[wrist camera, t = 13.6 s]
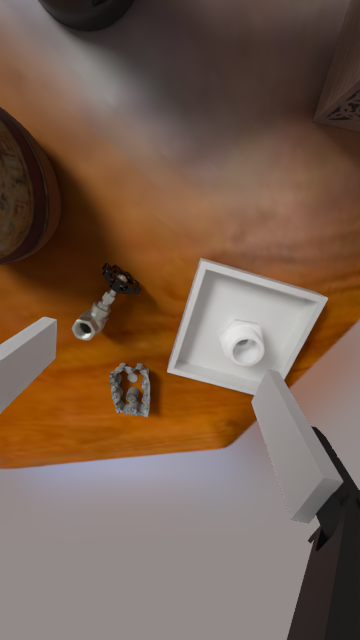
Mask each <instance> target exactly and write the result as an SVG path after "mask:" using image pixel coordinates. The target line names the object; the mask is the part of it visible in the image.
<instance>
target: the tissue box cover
mask: <svg viewBox="0 0 360 640" xmlns="http://www.w3.org/2000/svg"><path fill="white" fill-rule="evenodd" d="M312 122H315V123H319V124H324V125H329V126H334V127H338V128H343V129H348V130H352V131H357V132H360V0H351V1H350V4H349V7H348V10H347V13H346V16H345V20H344V23H343V26H342V29H341V32H340V35H339V38H338V42H337V45H336V48H335V51H334V54H333V57H332V61H331V64H330V67H329V70H328V73H327V76H326V80H325V83H324V86H323V89H322V92H321V95H320V99H319V102H318V105H317V108H316V111H315V114H314V118H313V121H312Z"/></svg>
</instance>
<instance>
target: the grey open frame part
mask: <svg viewBox="0 0 360 640" xmlns="http://www.w3.org/2000/svg"><path fill="white" fill-rule="evenodd" d="M136 369H138V370H140V371H139V372H140V373H141V374H142V375H144V378H143V381H142V389H144V390H145V391H144V395H143V398H142V402H143V404H145V405H142V404H140V403H139V402H138V401H137V399H138V395H139V389H138V388H136V387H130V388H129V390H128V392H127V395H126V400H127V401H128V402H130V404H125V403H124V402H123V401H122V400H120V399H121V397H122V394H123V389H122V388H121V387H119V384H120V382H121V379H122V376H121V375H120V374H119V372H121V371H123V370H124V371H125V372H126V373H128V375H127V379H128V380H129V381H130V382H136V381H137V380H138V376H137V375H136V374H135V373H134V372H135V370H136ZM148 375H149V369H148V368H145V367H144V366H143V364H140V363H138V364H137V366H136V367H135V368H131V367H128V366H127V365H126V363H121V364H120V365H119V367H117V368H116V369H115V370H114V371H113V372H110V386H111V391H112V399H113V402H114V404H115V406H116V412H117V413H120V412H123V413H124V414H125V415H126V414H130V415H136V416H138V415H142V416H145V417H148V413H149V407H150V400H151V398H150V382H149V377H148Z"/></svg>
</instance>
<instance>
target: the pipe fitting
mask: <svg viewBox="0 0 360 640" xmlns="http://www.w3.org/2000/svg"><path fill="white" fill-rule="evenodd" d="M219 339H220V342H221V345H222V348H223V351H224V354H225V356H226V357H229V358H230V360H231V361H232V362H233V363H234V364H236V365H238V366H244V367H246V366H251V365H254V364H256V363H257V362H259V361H260V360H261V358H262V357H263V355H264V341H263V337H262V333H261V330H260V326H259V325H258V323H256V322H250V321H245V320H239V319H234V320H233V321H232V322H231V323H230V324H229V325H228V326H227V327H226V328H225V329H224V330H223V331H222V332H221V333H220V334H219Z"/></svg>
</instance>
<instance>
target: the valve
mask: <svg viewBox="0 0 360 640" xmlns="http://www.w3.org/2000/svg"><path fill="white" fill-rule="evenodd" d="M102 269H103V270H104V272H103V273H102V275H103V276H104V277H106V281H107V283H108V284H109V285H110V288H111V290H110V291H107V292H106V293H105V294H104V296H103V297H102V299H103V300H101V301H95V302H94V303H93V305H92V308H91V309H90V310H88V311H85V312H84V313H82V314H81V315H80V317H79V318H78V319H77V321H76V322H75V323H74V325H73V327H72V331H73V333H74V334H75V336H76V337H77V338H78V339H81V340H91V339H92V337H93V336H94V335H95V334H98V333H99V332H101V331H102V330H103V328H104V326H105V323H106V321H107V320H108V319H109V316H108V315H109V313H110V312H111V309H110V305H109V304H111V303H113V301H114V300H115V298H116V295H115V294H116V293H122V294H131V293H132V292H133V291H134V290H135V292H134V293H135V294H138V293H139V292H140V291H141V288H140V287H139V286H138V285H139V282H138V281H136V280H133V279H132V278H130V276H131V274H130V273H128V272H125V273H124V272H122V271H121V270H120V268H119V267H118V266H117V265H113V267H112V266H111V265H109V264H108V263H105V265H104V266H103V268H102ZM114 273H116V274H118V276H116V275H115V274H114ZM110 278H112V279H113V281H111V280H110ZM127 281H128V282H129V283H130V284H128V283H126V282H127ZM123 288H126V289H125V290H123Z"/></svg>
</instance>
